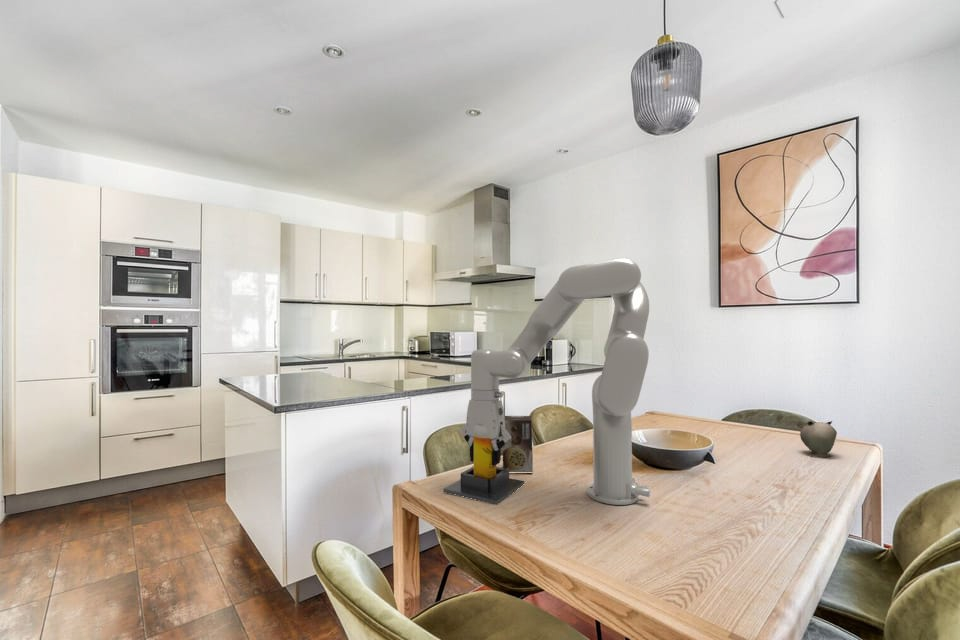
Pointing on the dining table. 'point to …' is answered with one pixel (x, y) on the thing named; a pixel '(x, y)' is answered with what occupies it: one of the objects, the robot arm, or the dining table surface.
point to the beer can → (483, 453)
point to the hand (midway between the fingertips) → (485, 461)
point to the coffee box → (518, 444)
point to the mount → (485, 486)
